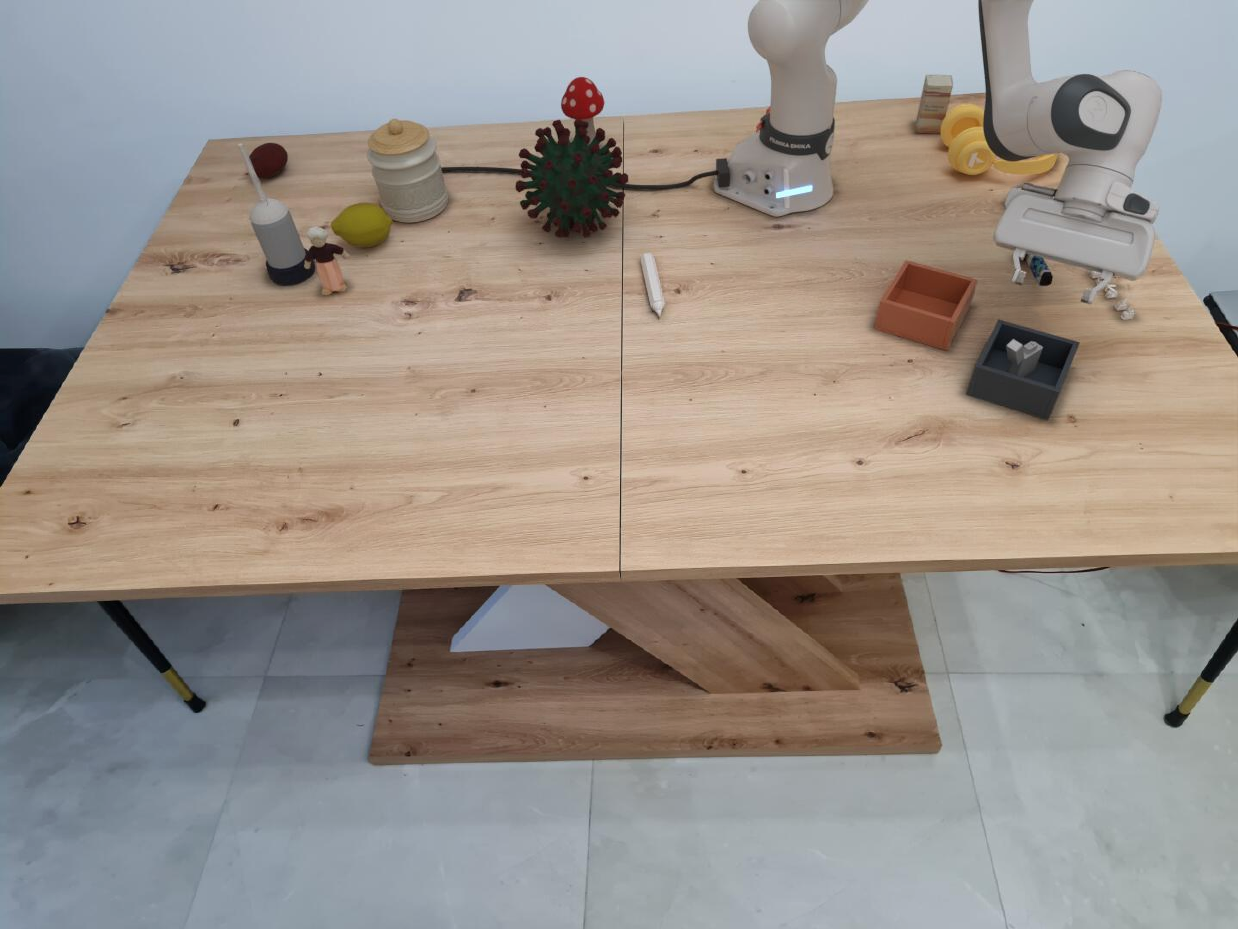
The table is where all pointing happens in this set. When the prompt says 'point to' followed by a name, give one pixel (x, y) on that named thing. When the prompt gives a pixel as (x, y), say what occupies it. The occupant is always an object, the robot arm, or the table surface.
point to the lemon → (362, 225)
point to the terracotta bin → (925, 304)
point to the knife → (1039, 270)
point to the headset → (981, 145)
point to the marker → (652, 283)
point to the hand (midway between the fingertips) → (1050, 293)
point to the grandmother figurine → (325, 261)
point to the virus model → (572, 179)
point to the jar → (407, 171)
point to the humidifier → (277, 236)
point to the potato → (268, 159)
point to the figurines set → (1113, 294)
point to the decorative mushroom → (583, 102)
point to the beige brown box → (933, 103)
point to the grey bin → (1034, 388)
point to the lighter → (1023, 357)
